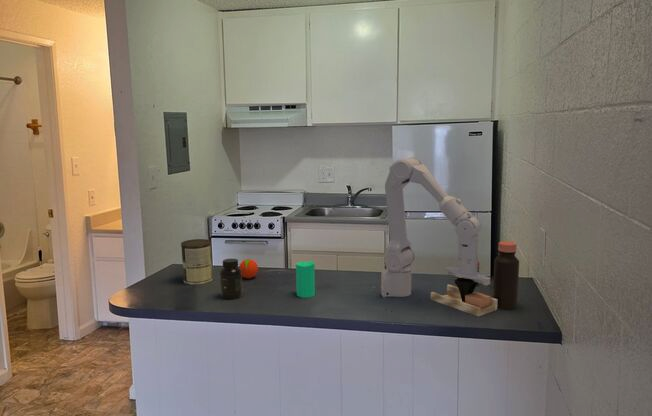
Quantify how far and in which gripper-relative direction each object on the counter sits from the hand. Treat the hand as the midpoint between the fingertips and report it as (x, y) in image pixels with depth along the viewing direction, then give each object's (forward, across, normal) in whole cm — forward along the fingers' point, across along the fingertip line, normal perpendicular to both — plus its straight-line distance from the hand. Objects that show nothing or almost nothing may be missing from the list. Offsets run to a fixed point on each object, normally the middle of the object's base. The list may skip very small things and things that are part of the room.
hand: (466, 302), depth 146 cm
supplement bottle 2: (+2, -12, +18) cm, 22 cm away
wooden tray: (+2, -1, +4) cm, 4 cm away
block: (+1, +4, 0) cm, 4 cm away
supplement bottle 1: (+2, -54, -49) cm, 73 cm away
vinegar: (+2, +7, +9) cm, 11 cm away
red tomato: (+2, -68, -36) cm, 77 cm away
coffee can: (+2, -78, -51) cm, 93 cm away
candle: (+2, -41, -30) cm, 50 cm away
